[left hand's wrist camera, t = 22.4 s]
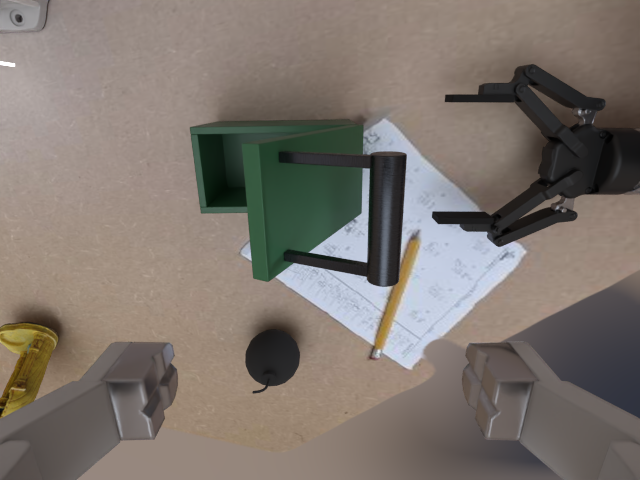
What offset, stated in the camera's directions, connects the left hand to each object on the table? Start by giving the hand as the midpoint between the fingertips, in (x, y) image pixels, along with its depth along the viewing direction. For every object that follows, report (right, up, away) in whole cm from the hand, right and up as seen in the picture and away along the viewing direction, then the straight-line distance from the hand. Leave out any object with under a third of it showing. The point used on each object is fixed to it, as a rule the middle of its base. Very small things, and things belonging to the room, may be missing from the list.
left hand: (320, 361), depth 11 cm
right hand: (+14, +12, +33) cm, 38 cm away
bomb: (-7, -12, +49) cm, 51 cm away
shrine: (-42, -12, +49) cm, 66 cm away
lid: (-1, +8, +21) cm, 23 cm away
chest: (-5, +14, +39) cm, 42 cm away
